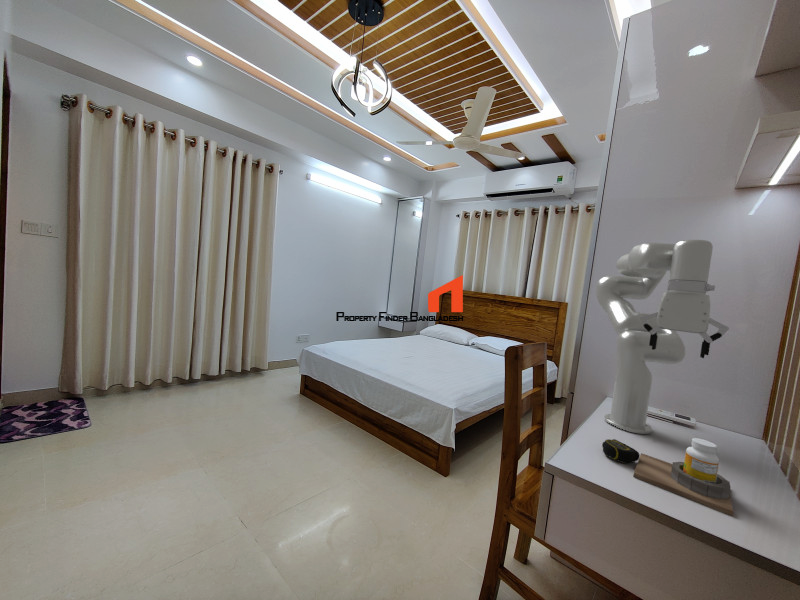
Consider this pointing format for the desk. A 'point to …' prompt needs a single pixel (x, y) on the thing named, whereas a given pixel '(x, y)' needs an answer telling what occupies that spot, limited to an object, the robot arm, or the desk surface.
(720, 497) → the holder
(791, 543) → the desk surface
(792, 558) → the desk surface
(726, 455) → the desk surface
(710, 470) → the supplement bottle
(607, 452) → the tape measure
